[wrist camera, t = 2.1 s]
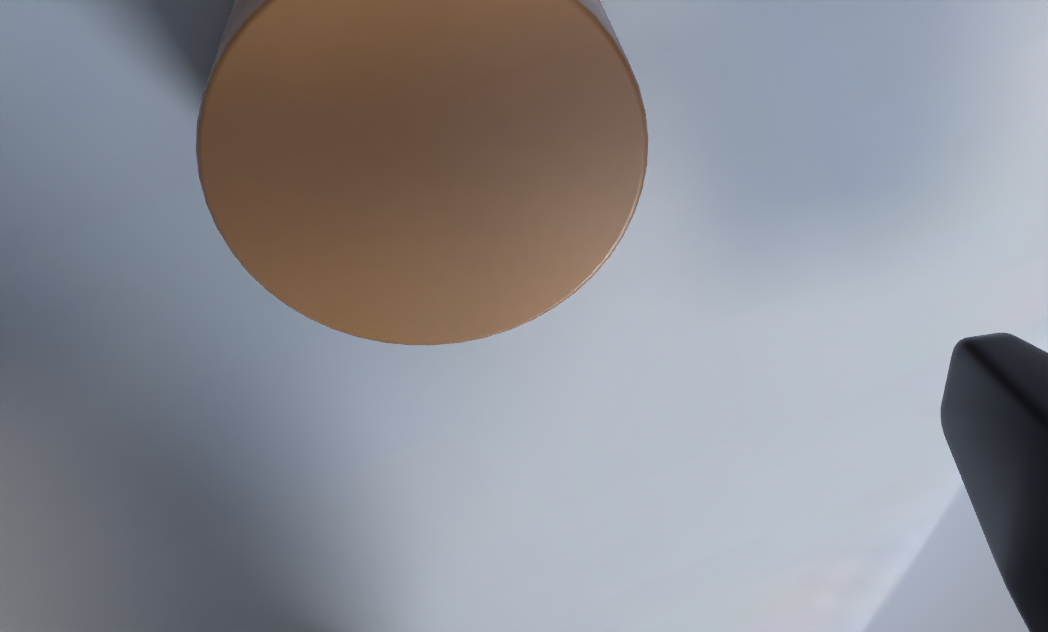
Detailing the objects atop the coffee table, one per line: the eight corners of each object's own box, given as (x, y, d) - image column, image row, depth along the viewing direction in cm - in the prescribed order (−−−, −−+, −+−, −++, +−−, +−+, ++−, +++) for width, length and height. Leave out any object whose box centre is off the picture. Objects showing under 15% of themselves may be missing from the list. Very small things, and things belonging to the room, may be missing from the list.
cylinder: (621, 221, 16) (653, 316, 14) (278, 271, 16) (264, 374, 14) (603, -146, 13) (643, -89, 11) (168, -85, 12) (127, -16, 10)
